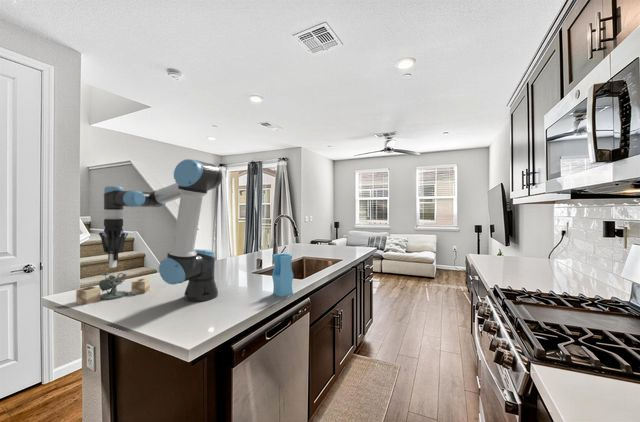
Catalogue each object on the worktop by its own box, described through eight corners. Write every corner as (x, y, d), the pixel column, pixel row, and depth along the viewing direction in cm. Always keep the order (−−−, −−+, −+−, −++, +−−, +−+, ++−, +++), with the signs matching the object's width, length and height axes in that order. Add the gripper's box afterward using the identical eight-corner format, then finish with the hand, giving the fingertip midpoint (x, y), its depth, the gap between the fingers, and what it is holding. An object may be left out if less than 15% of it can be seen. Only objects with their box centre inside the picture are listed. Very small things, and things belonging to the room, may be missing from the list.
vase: (271, 293, 141) (272, 254, 140) (284, 290, 146) (284, 253, 146) (280, 297, 135) (280, 256, 134) (293, 294, 140) (293, 255, 140)
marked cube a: (149, 290, 143) (149, 278, 143) (144, 293, 138) (144, 281, 138) (136, 290, 142) (137, 278, 142) (131, 294, 136) (131, 281, 136)
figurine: (115, 300, 127) (115, 274, 127) (93, 299, 127) (93, 274, 127) (131, 293, 138) (132, 269, 138) (110, 292, 138) (110, 269, 138)
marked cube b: (100, 300, 127) (100, 286, 127) (86, 304, 121) (86, 290, 121) (90, 299, 128) (90, 285, 128) (76, 303, 123) (76, 289, 122)
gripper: (132, 218, 135) (131, 265, 136) (107, 217, 136) (106, 265, 136) (120, 219, 128) (119, 269, 128) (94, 218, 129) (93, 268, 129)
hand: (113, 267), depth 132 cm, fingers closed
